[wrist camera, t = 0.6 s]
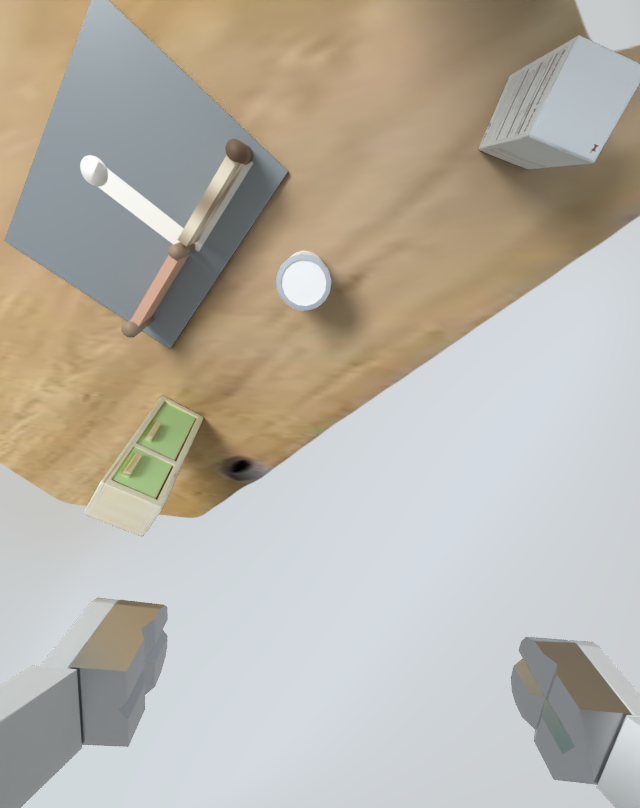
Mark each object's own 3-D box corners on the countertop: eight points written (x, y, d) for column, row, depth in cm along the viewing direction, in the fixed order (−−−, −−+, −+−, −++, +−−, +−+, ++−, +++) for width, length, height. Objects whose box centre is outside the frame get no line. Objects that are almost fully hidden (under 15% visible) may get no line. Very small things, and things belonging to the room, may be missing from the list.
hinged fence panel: (185, 235, 48) (170, 240, 43) (198, 245, 48) (185, 252, 43) (136, 317, 53) (118, 331, 48) (149, 326, 54) (133, 340, 49)
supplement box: (565, 98, 42) (653, 67, 31) (527, 171, 45) (594, 167, 34) (508, 72, 40) (580, 30, 30) (474, 149, 44) (527, 137, 33)
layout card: (98, -10, 37) (95, -12, 36) (288, 171, 45) (287, 171, 44) (7, 240, 48) (4, 240, 48) (171, 347, 56) (169, 349, 56)
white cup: (276, 248, 49) (271, 256, 43) (327, 243, 49) (329, 251, 43) (284, 299, 53) (280, 313, 47) (331, 294, 53) (333, 308, 47)
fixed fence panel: (241, 140, 43) (232, 133, 38) (256, 153, 43) (248, 148, 38) (187, 232, 48) (172, 238, 43) (201, 243, 48) (187, 249, 43)
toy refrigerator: (207, 414, 63) (164, 506, 45) (189, 442, 66) (141, 538, 48) (164, 390, 60) (100, 478, 42) (146, 421, 63) (80, 514, 45)
